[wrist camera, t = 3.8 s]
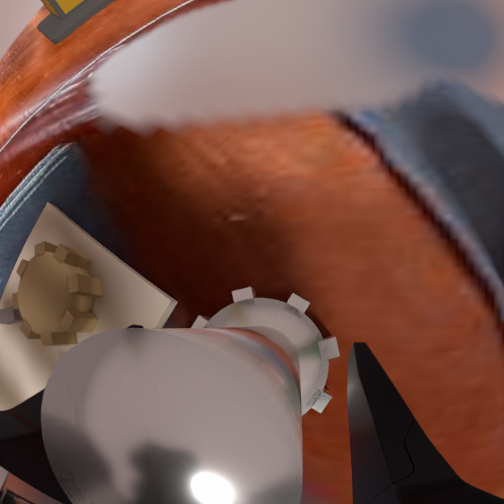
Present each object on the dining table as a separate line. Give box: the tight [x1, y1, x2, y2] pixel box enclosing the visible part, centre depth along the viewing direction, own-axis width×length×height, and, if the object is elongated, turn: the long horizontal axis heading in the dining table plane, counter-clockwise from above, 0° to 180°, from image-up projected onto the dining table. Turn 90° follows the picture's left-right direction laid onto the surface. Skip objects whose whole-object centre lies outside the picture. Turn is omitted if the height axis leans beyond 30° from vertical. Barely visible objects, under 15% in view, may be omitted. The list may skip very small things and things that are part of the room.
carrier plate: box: [0, 202, 178, 411], centre depth 16 cm, size 19×13×4 cm
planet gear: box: [41, 287, 340, 504], centre depth 10 cm, size 8×8×14 cm
